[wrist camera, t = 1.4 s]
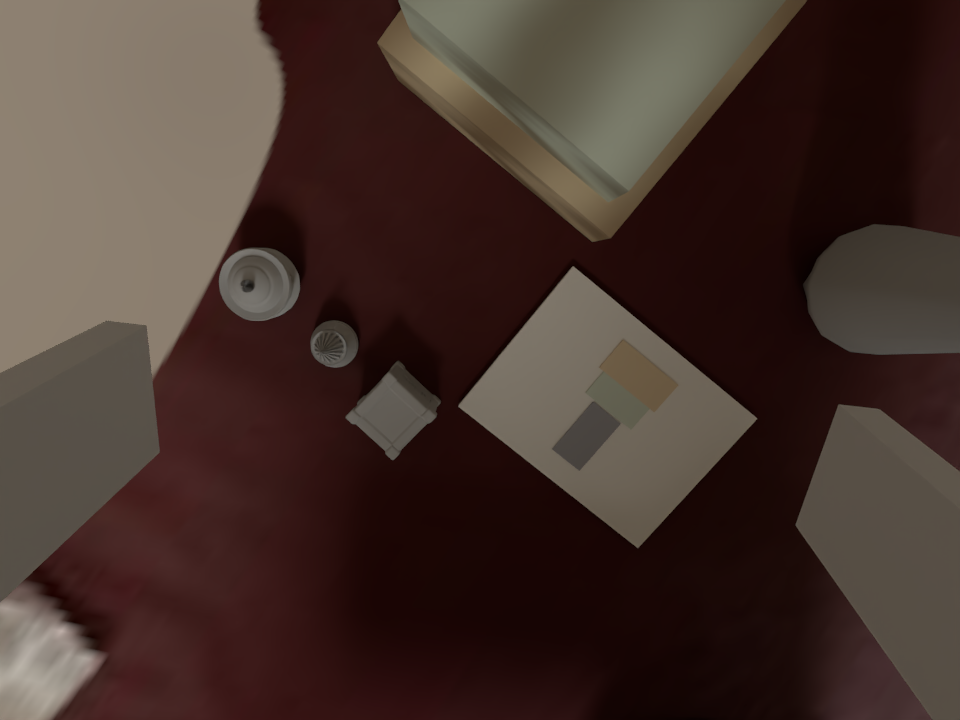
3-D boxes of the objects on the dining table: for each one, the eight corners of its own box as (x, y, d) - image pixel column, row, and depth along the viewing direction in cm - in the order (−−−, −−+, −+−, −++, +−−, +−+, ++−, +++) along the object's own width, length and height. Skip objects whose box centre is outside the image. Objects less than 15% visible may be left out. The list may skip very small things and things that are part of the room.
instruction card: (754, 416, 31) (758, 419, 30) (636, 544, 32) (638, 549, 32) (572, 266, 30) (573, 266, 29) (458, 404, 31) (458, 406, 31)
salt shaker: (761, 308, 30) (960, 342, 17) (830, 204, 29) (1095, 159, 16) (859, 368, 30) (1127, 446, 17) (930, 267, 29) (1268, 271, 16)
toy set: (444, 396, 32) (439, 416, 28) (400, 441, 32) (389, 466, 28) (270, 233, 30) (240, 230, 27) (226, 282, 31) (191, 286, 27)
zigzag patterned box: (763, 34, 28) (886, -72, 19) (592, 241, 30) (631, 233, 21) (562, -145, 27) (592, -345, 18) (398, 80, 29) (352, -1, 20)
